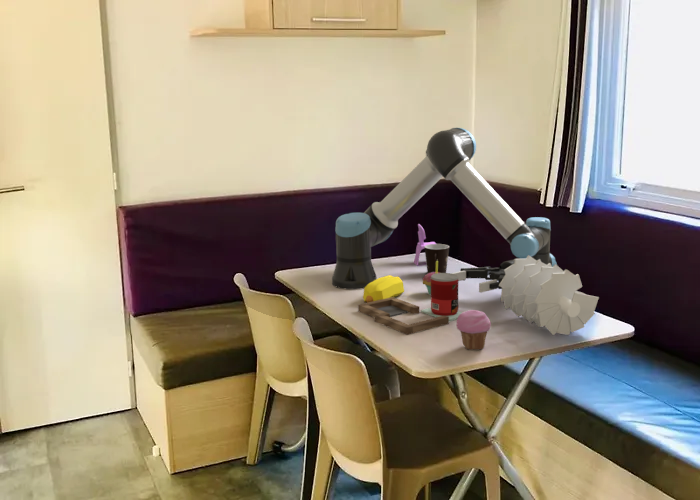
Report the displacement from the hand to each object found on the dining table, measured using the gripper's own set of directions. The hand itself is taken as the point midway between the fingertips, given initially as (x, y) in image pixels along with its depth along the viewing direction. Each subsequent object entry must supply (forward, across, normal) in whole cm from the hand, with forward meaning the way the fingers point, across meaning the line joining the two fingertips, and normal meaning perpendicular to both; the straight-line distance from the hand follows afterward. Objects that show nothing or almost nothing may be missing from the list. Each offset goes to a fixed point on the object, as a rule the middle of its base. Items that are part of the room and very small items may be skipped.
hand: (464, 283), depth 231 cm
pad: (+8, 0, -8) cm, 11 cm away
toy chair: (-28, +52, -8) cm, 59 cm away
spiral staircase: (-8, -25, -8) cm, 27 cm away
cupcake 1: (-4, +18, -8) cm, 21 cm away
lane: (+20, +5, -8) cm, 22 cm away
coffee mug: (-19, +36, -8) cm, 42 cm away
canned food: (+8, 0, -8) cm, 11 cm away
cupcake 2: (+20, -26, -8) cm, 34 cm away
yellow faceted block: (+12, +25, -9) cm, 29 cm away
